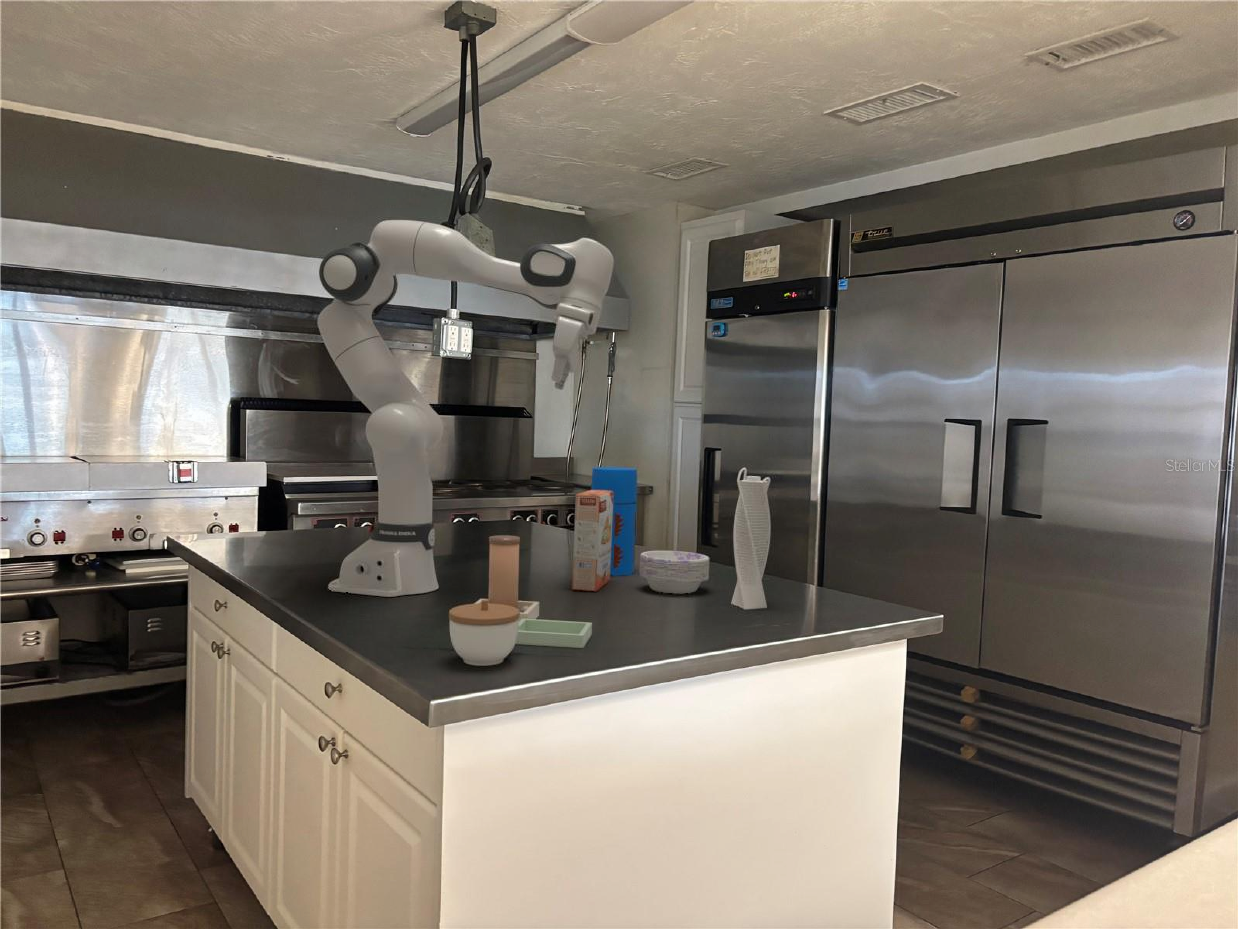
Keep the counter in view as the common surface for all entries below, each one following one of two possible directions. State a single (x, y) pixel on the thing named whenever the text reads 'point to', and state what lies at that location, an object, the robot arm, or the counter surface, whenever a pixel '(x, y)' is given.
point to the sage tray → (553, 633)
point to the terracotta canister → (504, 570)
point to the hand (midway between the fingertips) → (556, 384)
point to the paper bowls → (674, 570)
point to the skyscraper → (751, 541)
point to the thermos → (620, 514)
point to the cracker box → (592, 540)
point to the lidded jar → (483, 632)
